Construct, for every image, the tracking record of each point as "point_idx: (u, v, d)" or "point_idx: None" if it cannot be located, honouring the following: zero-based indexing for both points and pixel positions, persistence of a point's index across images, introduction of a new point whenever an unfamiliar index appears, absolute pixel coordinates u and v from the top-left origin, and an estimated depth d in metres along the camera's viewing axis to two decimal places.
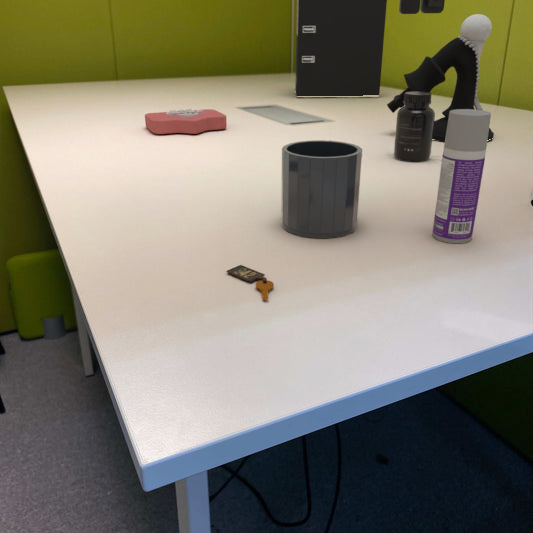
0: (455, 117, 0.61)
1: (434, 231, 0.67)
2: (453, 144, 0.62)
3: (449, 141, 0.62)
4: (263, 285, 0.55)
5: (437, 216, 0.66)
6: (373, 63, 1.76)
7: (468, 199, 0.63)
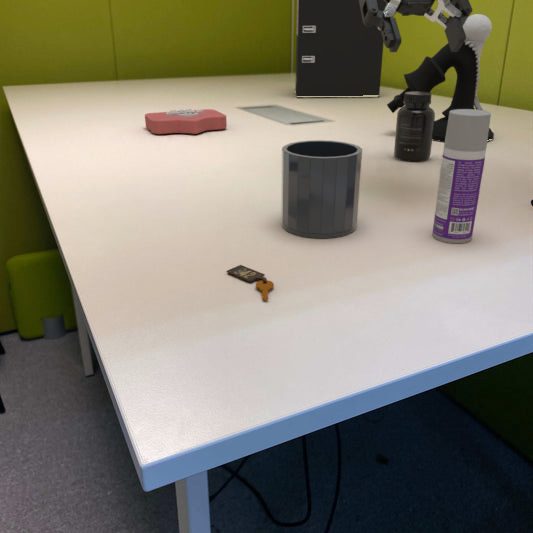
0: (455, 117, 0.61)
1: (434, 231, 0.67)
2: (453, 144, 0.62)
3: (449, 141, 0.62)
4: (263, 285, 0.55)
5: (437, 216, 0.66)
6: (373, 63, 1.76)
7: (468, 199, 0.63)
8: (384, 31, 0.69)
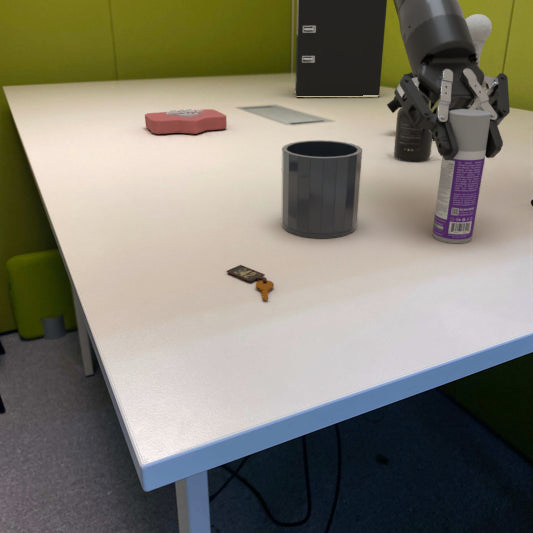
0: (455, 117, 0.61)
1: (434, 231, 0.67)
2: None
3: None
4: (263, 285, 0.55)
5: (437, 216, 0.66)
6: (373, 63, 1.76)
7: (468, 199, 0.63)
8: (438, 137, 0.62)
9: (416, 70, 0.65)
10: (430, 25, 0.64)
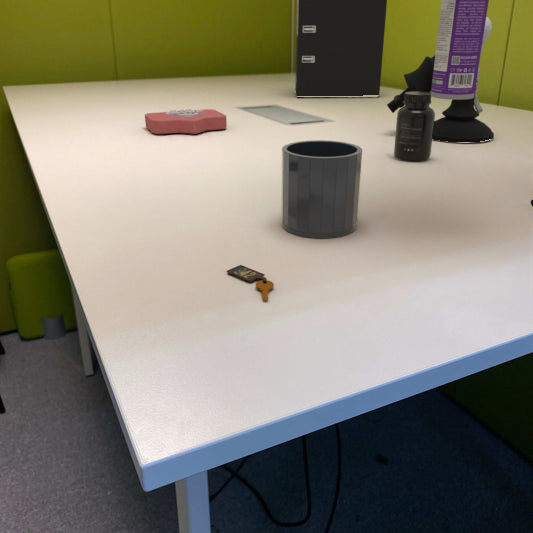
0: None
1: (433, 89, 0.61)
2: None
3: None
4: (263, 285, 0.55)
5: (436, 70, 0.60)
6: (373, 63, 1.76)
7: (470, 45, 0.57)
8: None
9: None
10: None
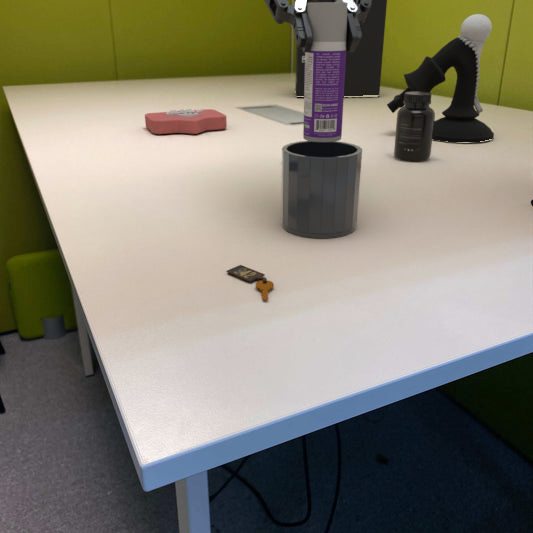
0: (310, 6, 0.60)
1: (303, 132, 0.67)
2: None
3: None
4: (263, 285, 0.55)
5: (304, 115, 0.66)
6: (373, 63, 1.76)
7: (330, 94, 0.63)
8: (295, 28, 0.61)
9: None
10: None
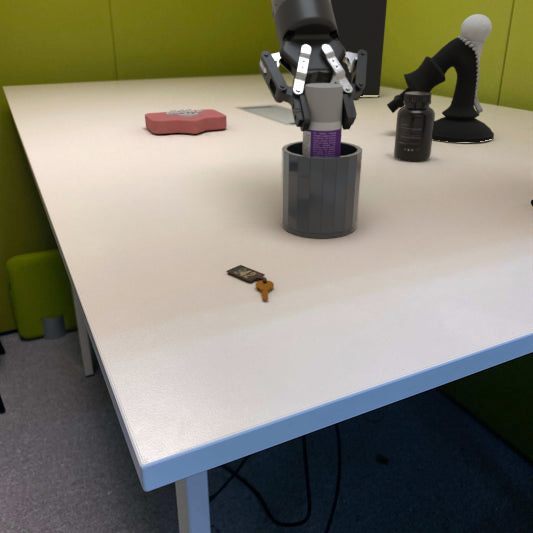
0: (308, 89, 0.64)
1: None
2: None
3: None
4: (263, 285, 0.55)
5: None
6: (373, 63, 1.76)
7: None
8: (294, 109, 0.65)
9: (280, 46, 0.68)
10: (291, 3, 0.67)
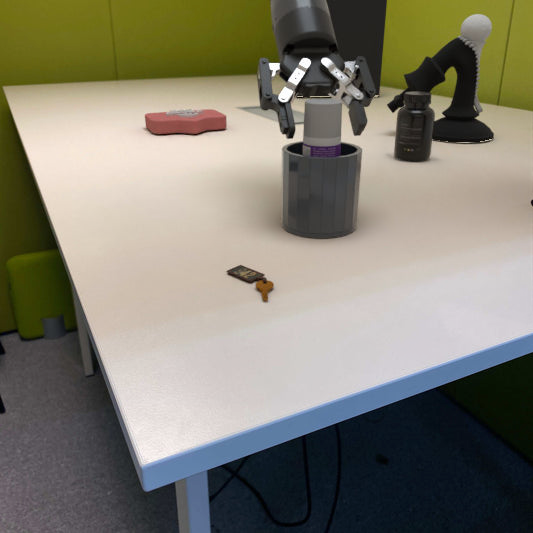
0: (307, 106, 0.65)
1: None
2: (308, 131, 0.66)
3: (305, 129, 0.66)
4: (263, 285, 0.55)
5: None
6: (373, 63, 1.76)
7: None
8: (279, 117, 0.65)
9: (280, 60, 0.69)
10: (291, 17, 0.67)
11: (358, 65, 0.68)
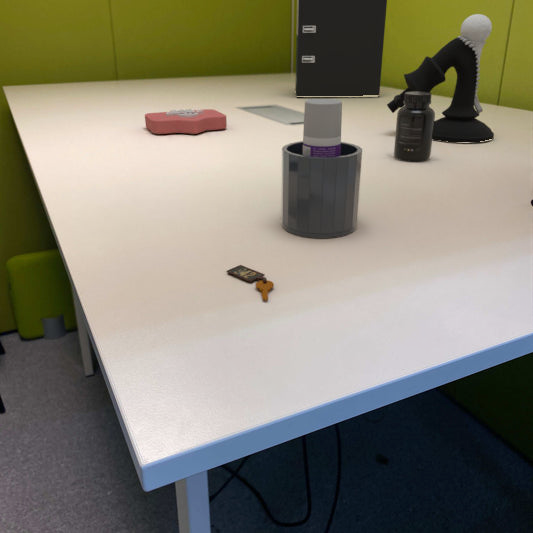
0: (307, 106, 0.65)
1: None
2: (308, 131, 0.66)
3: (305, 129, 0.66)
4: (263, 285, 0.55)
5: None
6: (373, 63, 1.76)
7: None
8: None
9: None
10: None
11: None
